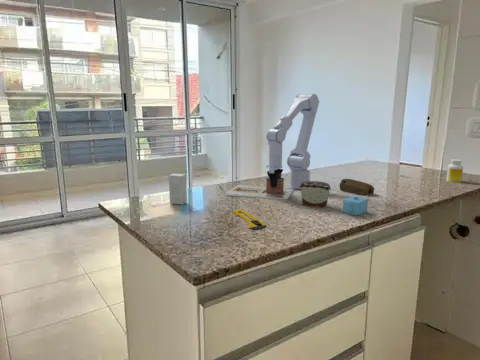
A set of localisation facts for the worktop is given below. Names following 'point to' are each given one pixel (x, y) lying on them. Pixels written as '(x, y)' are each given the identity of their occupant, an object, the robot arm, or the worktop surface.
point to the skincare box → (177, 188)
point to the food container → (315, 193)
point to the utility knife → (250, 220)
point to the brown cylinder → (356, 187)
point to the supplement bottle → (454, 171)
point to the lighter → (277, 189)
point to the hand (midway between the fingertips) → (274, 186)
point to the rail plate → (257, 194)
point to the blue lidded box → (355, 205)
